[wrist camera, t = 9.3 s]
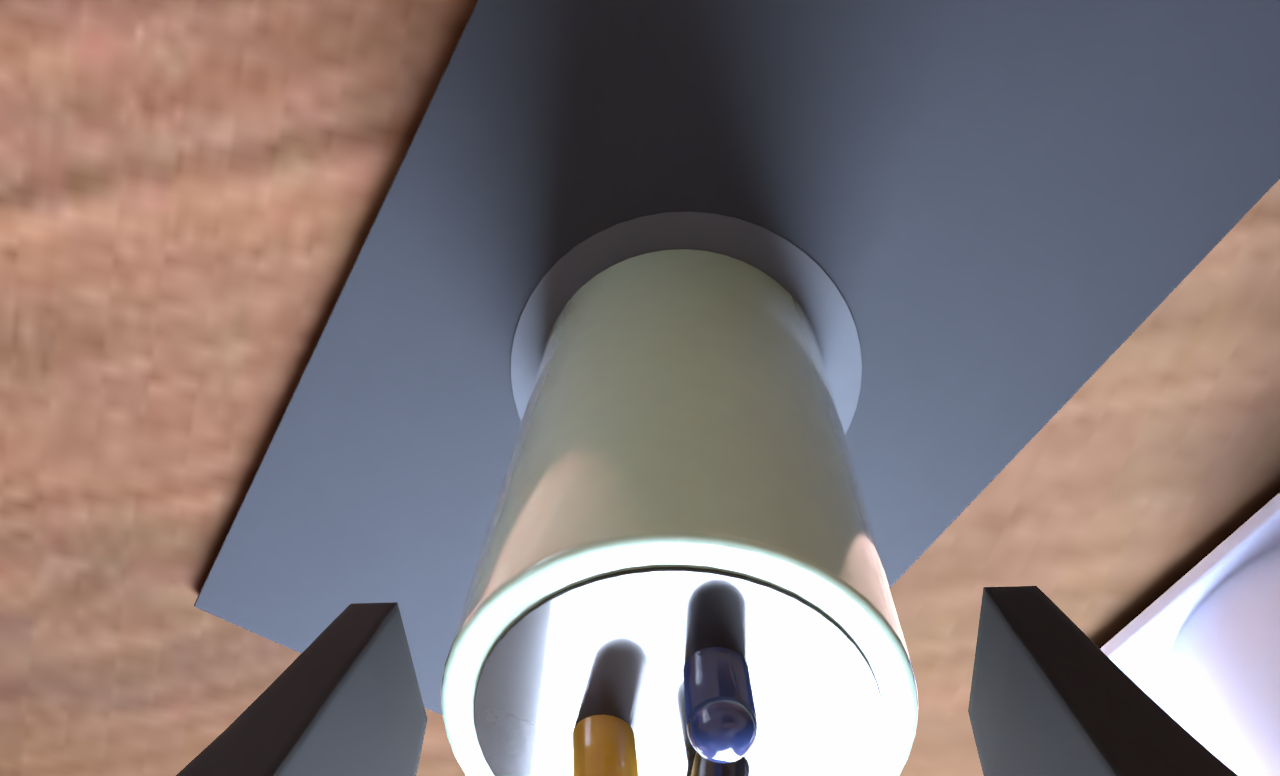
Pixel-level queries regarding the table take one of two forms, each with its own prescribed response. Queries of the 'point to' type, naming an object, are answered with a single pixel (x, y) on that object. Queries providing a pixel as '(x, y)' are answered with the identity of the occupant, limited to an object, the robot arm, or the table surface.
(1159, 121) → the desk mat
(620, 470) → the pen holder
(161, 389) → the table surface
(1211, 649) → the robot arm
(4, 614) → the table surface
